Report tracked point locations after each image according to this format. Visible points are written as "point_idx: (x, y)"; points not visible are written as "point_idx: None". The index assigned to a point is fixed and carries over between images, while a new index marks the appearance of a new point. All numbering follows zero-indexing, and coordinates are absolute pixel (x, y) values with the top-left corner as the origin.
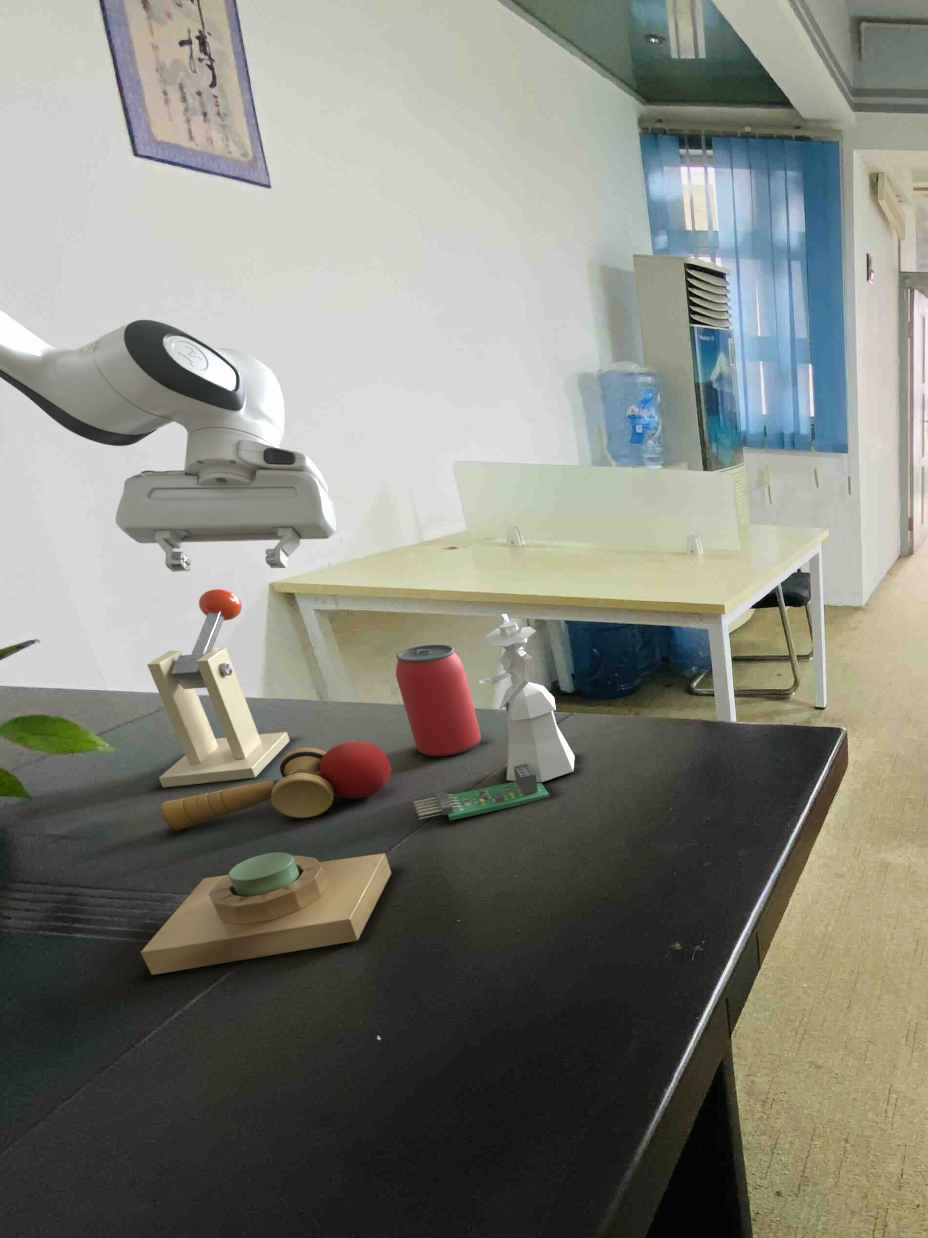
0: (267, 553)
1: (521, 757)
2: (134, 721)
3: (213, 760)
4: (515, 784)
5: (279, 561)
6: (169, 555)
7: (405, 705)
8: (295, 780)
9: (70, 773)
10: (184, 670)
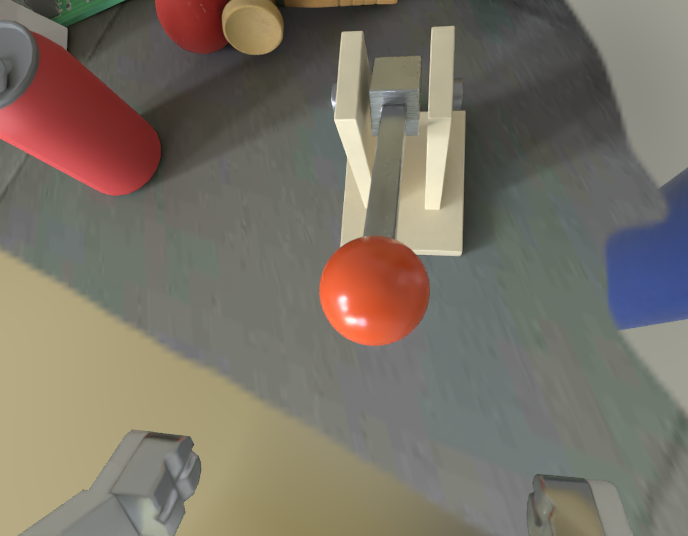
0: (157, 471)
1: (24, 7)
2: (662, 460)
3: (412, 154)
4: (60, 16)
5: (139, 430)
6: (612, 532)
7: (110, 96)
8: None
9: (632, 212)
10: (398, 60)
